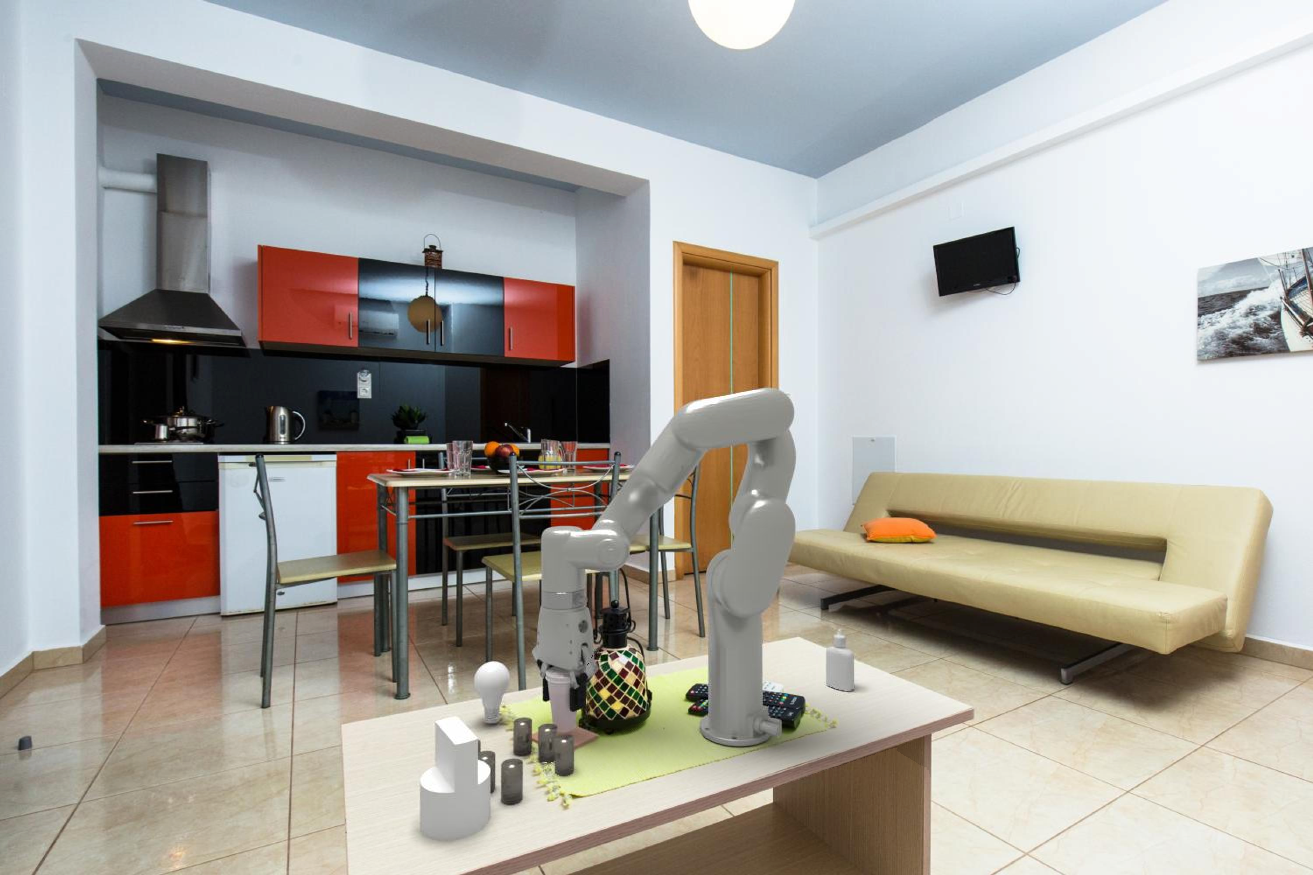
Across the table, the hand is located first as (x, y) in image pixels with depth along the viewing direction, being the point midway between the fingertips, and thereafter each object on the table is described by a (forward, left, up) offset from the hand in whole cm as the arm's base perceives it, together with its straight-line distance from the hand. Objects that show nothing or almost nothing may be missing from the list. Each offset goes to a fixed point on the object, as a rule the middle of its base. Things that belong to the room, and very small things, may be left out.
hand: (564, 703), depth 109 cm
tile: (0, 0, -6) cm, 6 cm away
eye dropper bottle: (-27, -52, -6) cm, 59 cm away
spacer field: (-3, +13, -6) cm, 14 cm away
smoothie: (0, 0, -4) cm, 4 cm away
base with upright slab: (-7, +26, -6) cm, 27 cm away
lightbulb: (+15, +4, -6) cm, 16 cm away
